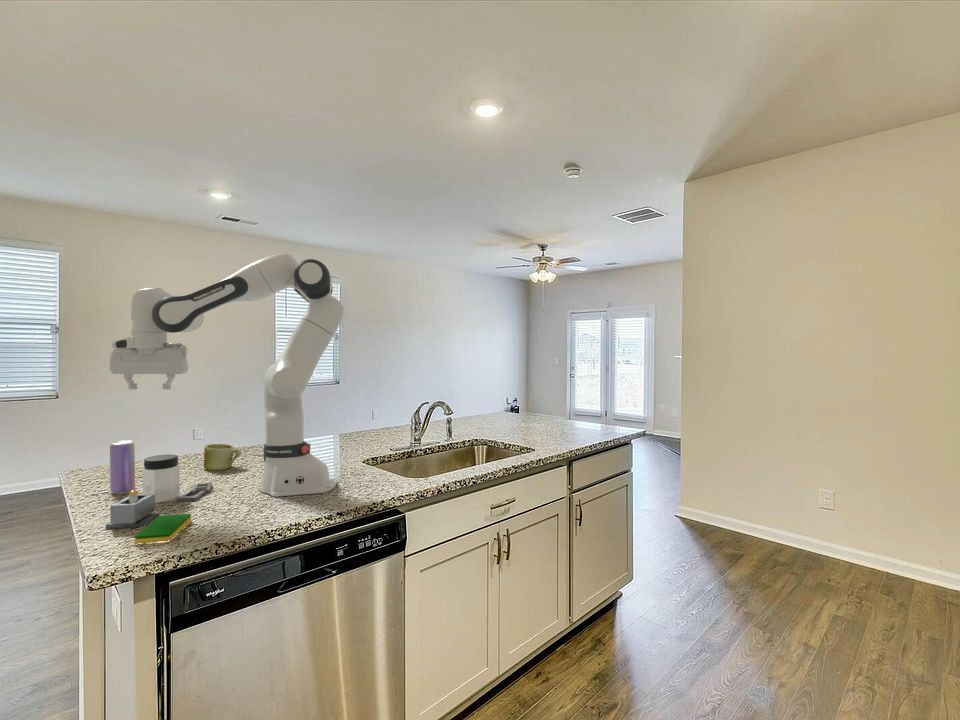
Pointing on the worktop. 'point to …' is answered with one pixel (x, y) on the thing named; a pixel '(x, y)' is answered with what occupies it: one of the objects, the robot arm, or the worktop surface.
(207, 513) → the worktop surface
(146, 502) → the link
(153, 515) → the keeper
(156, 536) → the dish sponge
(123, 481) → the beverage can
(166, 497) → the jar
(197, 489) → the chain tail
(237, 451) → the mug
